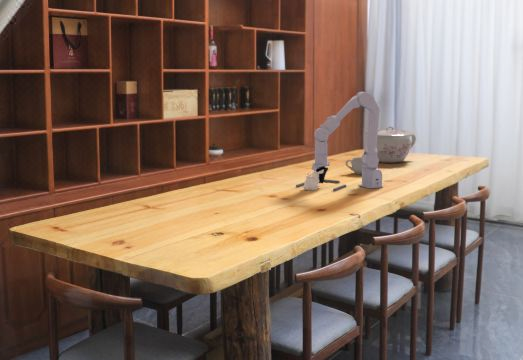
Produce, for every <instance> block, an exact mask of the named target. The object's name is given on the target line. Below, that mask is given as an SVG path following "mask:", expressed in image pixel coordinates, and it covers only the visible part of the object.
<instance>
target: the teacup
mask: <svg viewBox="0 0 523 360" xmlns="http://www.w3.org/2000/svg"><path fill="white" fill-rule="evenodd" d="M361 158H362V156H359V157H357V156H356V157H352V158H351V159H347V160H346V161H345V165H346V167H347V168H348V169H350V170H351V171H352V172H353V173H354V174H356V175H361V176H362V166H363V162H362V159H361ZM349 162H350V164H351V166H350V165H349V164H348V163H349Z"/></svg>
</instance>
